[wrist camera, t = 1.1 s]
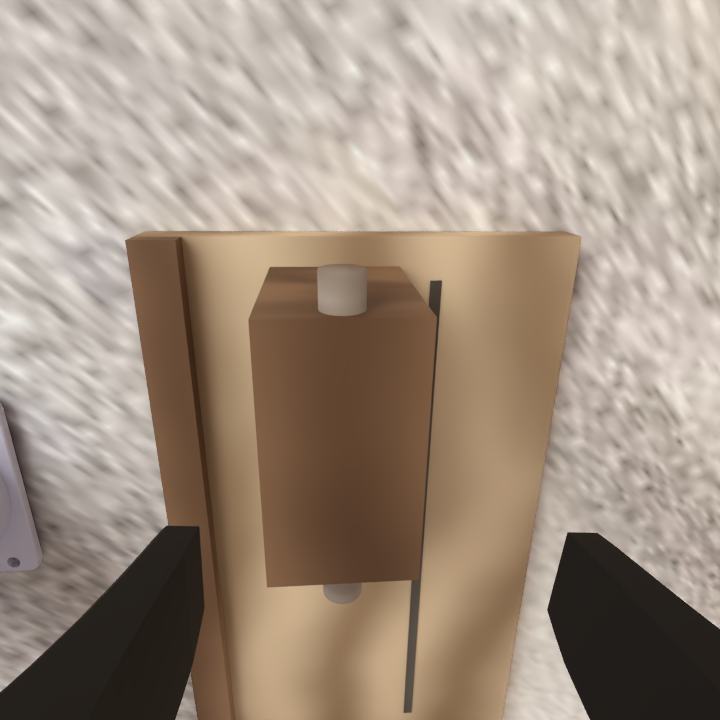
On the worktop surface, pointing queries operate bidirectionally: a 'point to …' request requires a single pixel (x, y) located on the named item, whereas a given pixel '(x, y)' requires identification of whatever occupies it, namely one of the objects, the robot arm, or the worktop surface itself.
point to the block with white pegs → (341, 424)
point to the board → (443, 475)
